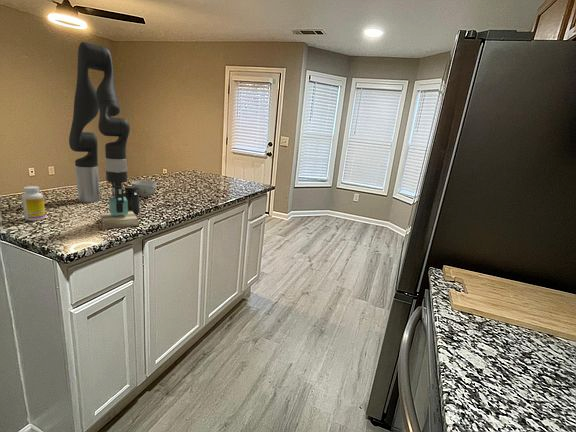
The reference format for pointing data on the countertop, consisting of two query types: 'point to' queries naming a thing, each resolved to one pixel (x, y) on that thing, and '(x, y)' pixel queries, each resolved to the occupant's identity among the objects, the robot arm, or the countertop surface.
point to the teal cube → (114, 210)
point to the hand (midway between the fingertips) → (118, 210)
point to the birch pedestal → (119, 220)
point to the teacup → (145, 187)
